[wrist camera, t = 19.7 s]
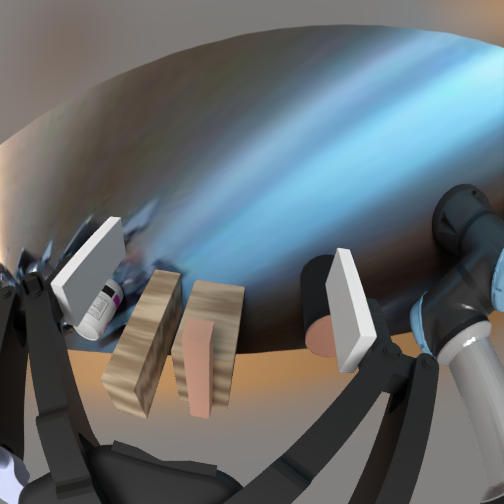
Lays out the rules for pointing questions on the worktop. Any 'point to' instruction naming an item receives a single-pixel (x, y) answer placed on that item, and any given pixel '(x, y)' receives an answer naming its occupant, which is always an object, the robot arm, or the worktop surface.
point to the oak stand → (160, 338)
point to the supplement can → (101, 311)
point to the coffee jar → (317, 307)
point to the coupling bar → (199, 365)
